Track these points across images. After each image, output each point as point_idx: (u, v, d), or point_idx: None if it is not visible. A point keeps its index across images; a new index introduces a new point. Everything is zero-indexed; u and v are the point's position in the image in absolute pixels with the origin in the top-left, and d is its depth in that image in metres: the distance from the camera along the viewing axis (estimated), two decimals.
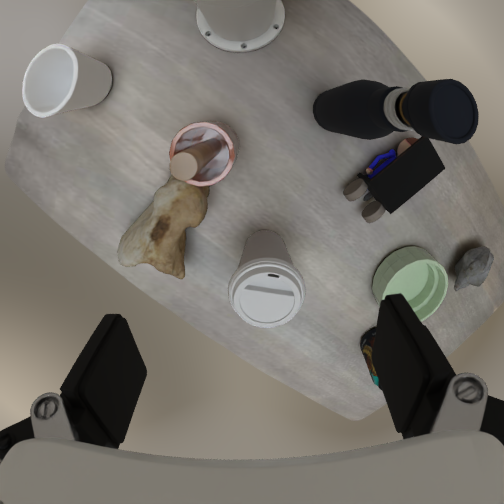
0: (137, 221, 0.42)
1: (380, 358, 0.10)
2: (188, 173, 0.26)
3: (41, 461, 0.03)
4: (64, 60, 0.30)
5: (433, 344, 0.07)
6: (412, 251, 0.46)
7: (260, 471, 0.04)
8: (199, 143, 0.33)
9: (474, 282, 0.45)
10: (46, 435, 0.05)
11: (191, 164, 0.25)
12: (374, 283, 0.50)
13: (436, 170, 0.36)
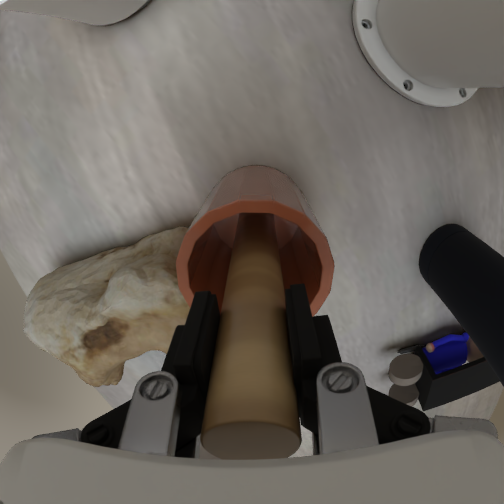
0: (70, 278, 0.20)
1: None
2: (252, 457, 0.07)
3: (41, 461, 0.03)
4: None
5: (313, 331, 0.08)
6: None
7: (260, 471, 0.04)
8: (263, 250, 0.14)
9: None
10: (141, 417, 0.06)
11: (278, 449, 0.07)
12: None
13: (493, 381, 0.24)
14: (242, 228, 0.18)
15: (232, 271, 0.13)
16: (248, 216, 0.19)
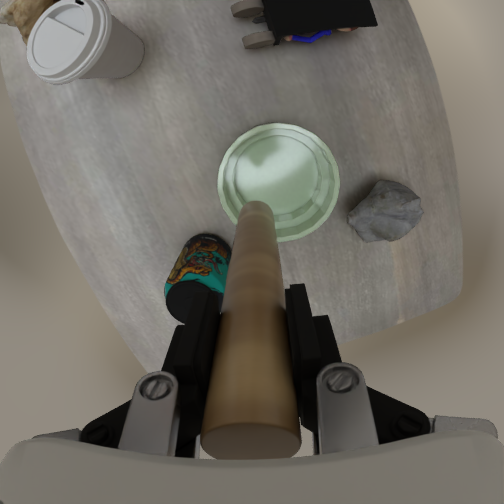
0: None
1: None
2: (252, 459, 0.07)
3: (41, 461, 0.03)
4: None
5: (314, 331, 0.08)
6: None
7: (260, 471, 0.04)
8: (263, 251, 0.14)
9: (381, 228, 0.34)
10: (141, 417, 0.06)
11: (278, 451, 0.07)
12: None
13: (363, 20, 0.23)
14: (242, 228, 0.18)
15: (232, 272, 0.13)
16: (247, 216, 0.19)
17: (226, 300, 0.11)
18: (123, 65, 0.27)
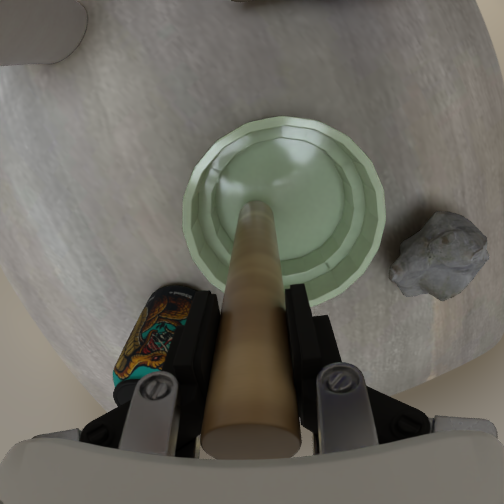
0: None
1: None
2: (252, 459, 0.07)
3: (41, 461, 0.03)
4: None
5: (313, 331, 0.08)
6: None
7: (260, 471, 0.04)
8: (263, 251, 0.14)
9: (436, 284, 0.21)
10: (141, 417, 0.06)
11: (278, 451, 0.07)
12: None
13: None
14: (242, 229, 0.18)
15: (232, 272, 0.13)
16: (247, 216, 0.19)
17: (226, 300, 0.11)
18: (47, 41, 0.14)
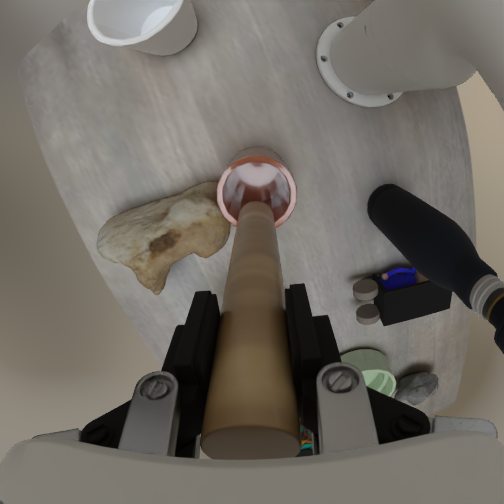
0: (137, 213, 0.35)
1: None
2: None
3: (41, 461, 0.03)
4: None
5: (314, 331, 0.08)
6: (377, 357, 0.47)
7: (260, 471, 0.04)
8: (263, 252, 0.14)
9: (411, 401, 0.49)
10: (141, 417, 0.06)
11: (278, 454, 0.07)
12: None
13: (441, 307, 0.38)
14: (242, 229, 0.18)
15: (232, 273, 0.13)
16: (247, 217, 0.19)
17: (226, 302, 0.11)
18: None
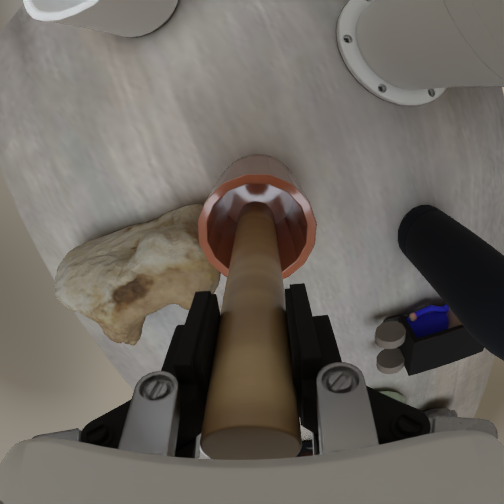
0: (101, 247, 0.26)
1: None
2: None
3: (41, 461, 0.03)
4: None
5: (313, 331, 0.08)
6: None
7: (260, 471, 0.04)
8: (263, 252, 0.14)
9: None
10: (141, 417, 0.06)
11: (278, 454, 0.07)
12: None
13: (475, 350, 0.29)
14: (242, 229, 0.18)
15: (232, 273, 0.13)
16: (247, 217, 0.19)
17: (226, 302, 0.11)
18: None
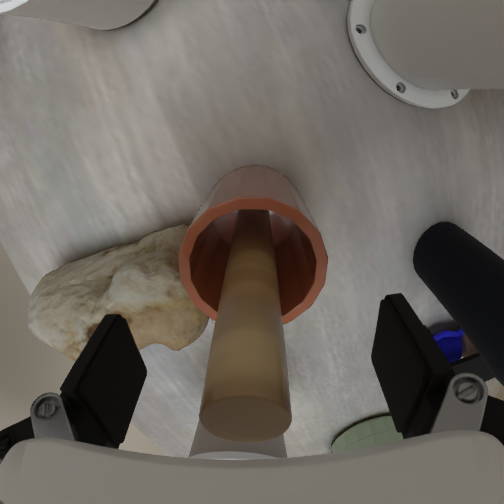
0: (74, 275, 0.21)
1: (380, 358, 0.10)
2: (246, 435, 0.08)
3: (41, 461, 0.03)
4: None
5: (433, 344, 0.07)
6: None
7: (260, 471, 0.04)
8: (259, 247, 0.15)
9: None
10: (46, 435, 0.05)
11: (270, 427, 0.08)
12: (342, 439, 0.36)
13: (489, 377, 0.25)
14: (239, 227, 0.19)
15: (229, 267, 0.14)
16: (245, 216, 0.20)
17: (224, 292, 0.12)
18: None
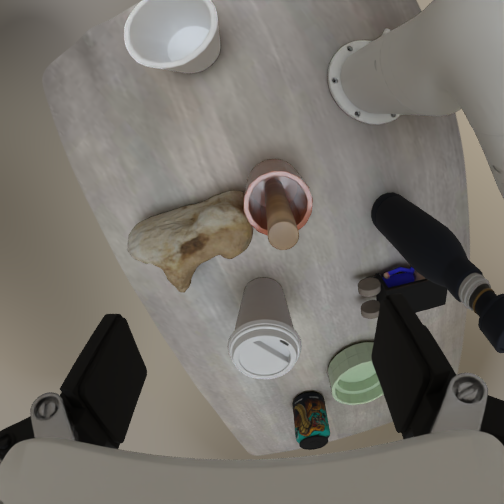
0: (166, 219, 0.39)
1: (380, 358, 0.10)
2: (283, 244, 0.26)
3: (41, 461, 0.03)
4: (188, 9, 0.26)
5: (433, 344, 0.07)
6: None
7: (260, 471, 0.04)
8: (281, 194, 0.33)
9: None
10: (46, 435, 0.05)
11: (292, 238, 0.26)
12: (335, 360, 0.54)
13: (438, 303, 0.42)
14: (269, 188, 0.37)
15: (269, 200, 0.32)
16: (271, 184, 0.38)
17: (269, 207, 0.30)
18: None
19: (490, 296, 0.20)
